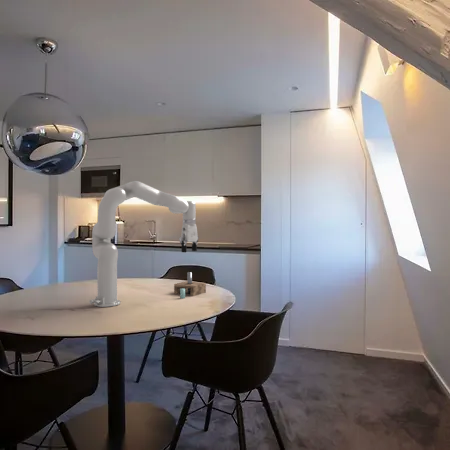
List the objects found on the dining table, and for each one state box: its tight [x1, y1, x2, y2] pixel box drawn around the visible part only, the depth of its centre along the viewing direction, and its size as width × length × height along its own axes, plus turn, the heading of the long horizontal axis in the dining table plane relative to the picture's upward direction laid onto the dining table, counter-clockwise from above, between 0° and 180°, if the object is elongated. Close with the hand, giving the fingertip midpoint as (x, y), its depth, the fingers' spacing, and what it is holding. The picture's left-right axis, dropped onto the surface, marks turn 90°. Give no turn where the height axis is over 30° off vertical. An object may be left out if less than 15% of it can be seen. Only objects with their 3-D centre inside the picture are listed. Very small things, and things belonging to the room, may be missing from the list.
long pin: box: [186, 271, 193, 295], centre depth 210 cm, size 3×3×12 cm
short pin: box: [179, 289, 186, 300], centre depth 197 cm, size 3×3×5 cm
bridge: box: [173, 280, 207, 297], centre depth 211 cm, size 12×14×6 cm
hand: (189, 251), depth 210 cm, fingers open, 9 cm apart
